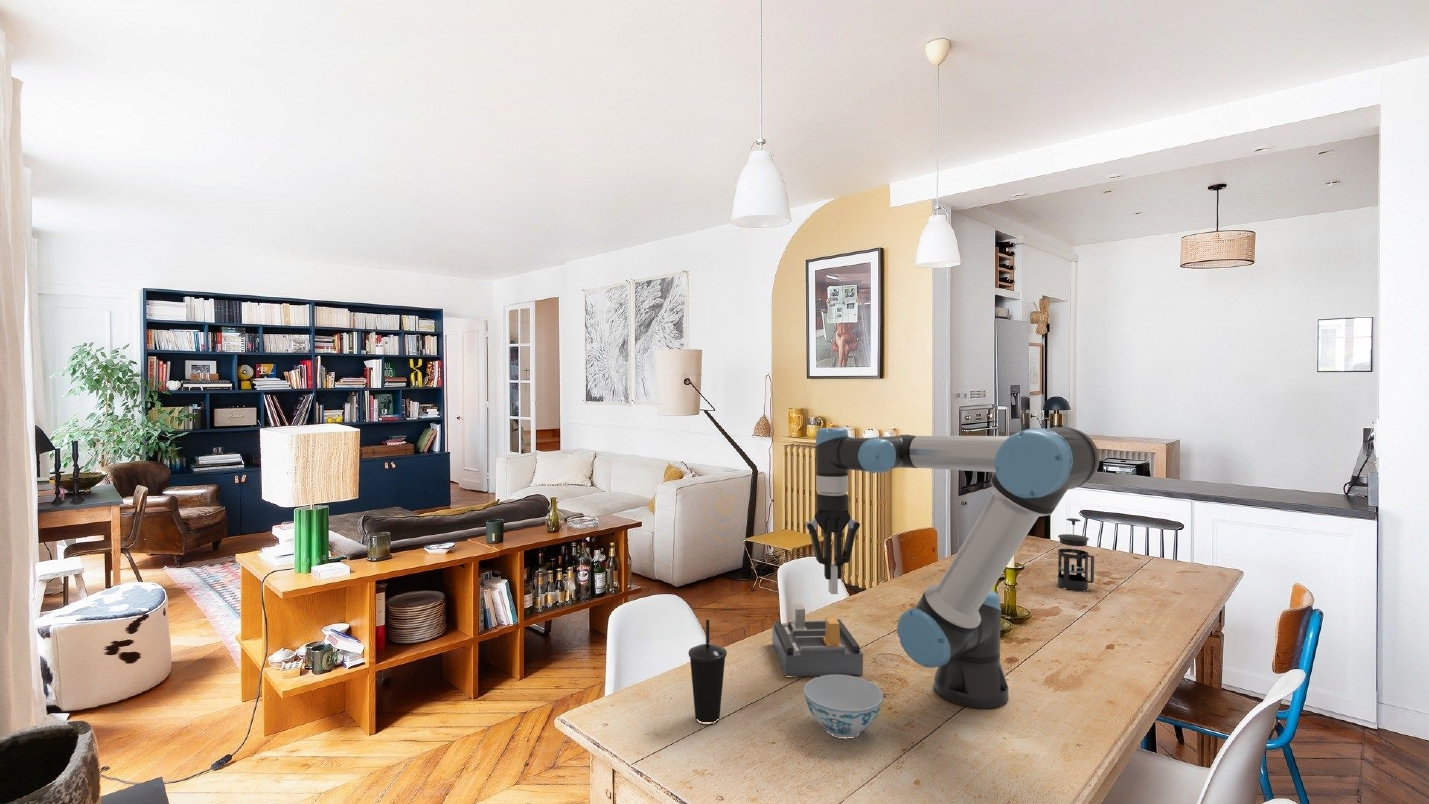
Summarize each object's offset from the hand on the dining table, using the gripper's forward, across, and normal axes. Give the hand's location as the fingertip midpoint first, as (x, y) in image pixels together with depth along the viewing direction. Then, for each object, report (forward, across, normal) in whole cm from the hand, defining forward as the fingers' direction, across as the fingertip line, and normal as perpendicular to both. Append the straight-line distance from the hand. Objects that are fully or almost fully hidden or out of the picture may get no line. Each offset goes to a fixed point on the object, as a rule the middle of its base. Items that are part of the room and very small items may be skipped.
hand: (833, 592), depth 157 cm
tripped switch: (+13, 0, -1) cm, 13 cm away
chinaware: (+19, +6, +28) cm, 34 cm away
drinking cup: (+18, +32, +21) cm, 42 cm away
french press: (+18, -97, -55) cm, 113 cm away
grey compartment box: (+18, +3, -6) cm, 19 cm away
